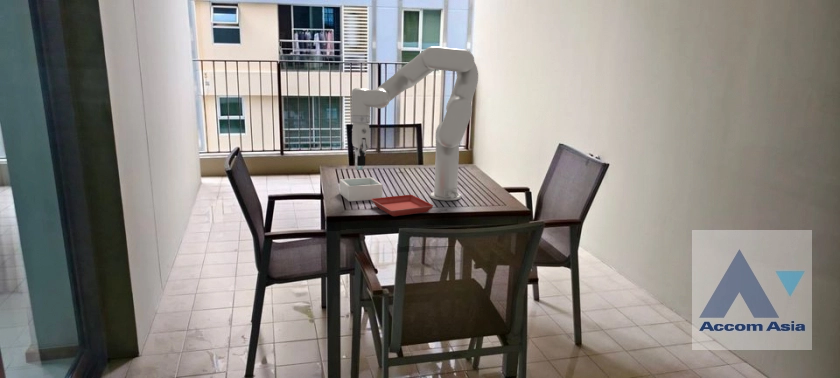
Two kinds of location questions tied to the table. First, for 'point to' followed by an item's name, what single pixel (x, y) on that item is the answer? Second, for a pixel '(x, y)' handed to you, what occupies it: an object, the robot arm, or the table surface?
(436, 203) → the table surface
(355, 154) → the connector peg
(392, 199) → the plant saucer
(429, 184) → the table surface
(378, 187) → the walled box
